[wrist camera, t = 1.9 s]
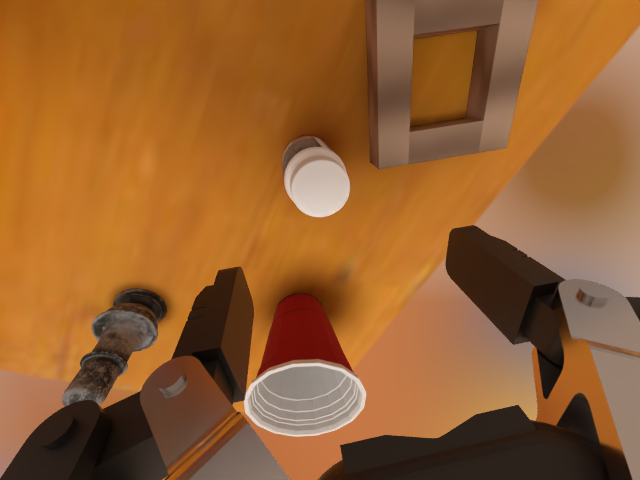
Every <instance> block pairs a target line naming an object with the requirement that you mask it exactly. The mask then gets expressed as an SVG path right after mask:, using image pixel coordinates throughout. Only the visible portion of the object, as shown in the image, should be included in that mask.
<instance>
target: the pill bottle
mask: <svg viewBox="0 0 640 480" xmlns="http://www.w3.org/2000/svg"><path fill="white" fill-rule="evenodd" d="M282 168H283V177H284V185H285V189H286V191H287V194H288V195H289V197H290V198H291V200H292V201H293V202H294V203H295V205H296V206H297V207H298V208H299V209H300V210H301V211H302V212H303V213H305V214H307V215H309V216H313V217H325V216H329V215H332V214H334V213H335V212H337V211H338V210H340V209H341V208H342V207H343V205H344V204H345V203H346V201H347V199H348V196H349V193H350V181H349V178H348V175H347V173H346V168H345V166H344V163H343V162H342V160H341V159H340V157H339V156H338V155H337V154H336V153H335V152H334V151H333V150H332V149H331V148H330V147H329V146H328V145H327V144H326V143H325V142H324V141H322V140H321V139H319V138H317V137H314V136H302V137H299V138H296V139H295V140H293V141H292V142H291V143H290V144H289V145H288V146H287V148H286V149H285V151H284V154H283V157H282Z"/></svg>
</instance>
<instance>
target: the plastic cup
mask: <svg viewBox="0 0 640 480" xmlns="http://www.w3.org/2000/svg"><path fill="white" fill-rule="evenodd" d="M365 399H366V391H365V389H364V387H363V385H362V384H361V382H360V380H359V378H358V376H357V375H356V374H355V373H354V372H353V371H352V369H351V367H350V364H349V362H348V361H347V359H346V357H345V355H344V353H343V351H342V348H341V346H340V344H339V342H338V339H337V337H336V335H335V332H334V330H333V328H332V326H331V324H330V322H329V320H328V318H327V317H326V314H325V312H324V310H323V308H322V306H321V304H320V303H319V301H318V300H317V299H316V298H314V297H313V296H311V295H307V294H294V295H291V296H289V297H286V298H285V299H284V300H282V301H281V302H280V303H279V305H278V307H277V309H276V312H275V314H274V319H273V323H272V327H271V329H270V332H269V336H268V340H267V344H266V348H265V352H264V356H263V359H262V363H261V367H260V369H259V371H258V374H257V377H256V378H255V379H254V380H253V381H252V383H251V385H250V387H249V389H248V391H247V393H246V395H245V400H244V405H245V411H246V414H247V415H248V416H249V417H250V418H251V419H252V420H253V422H255V424H256V425H258V426H260V427H262V428H264V429H266V430H268V431H271V432H273V433H276V434H283V435H289V436H295V437H296V436H314V435H320V434H323V433H327V432H330V431H334V430H337V429H339V428H341V427H342V426H344V425H346V424H348V423H349V422H351V421H353V420H354V419H355V418H356V416H357V415H358V414H359V413H360V412H361V411H362V409H363V408H364V405H365Z"/></svg>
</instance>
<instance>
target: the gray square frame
mask: <svg viewBox="0 0 640 480" xmlns="http://www.w3.org/2000/svg"><path fill="white" fill-rule="evenodd" d="M537 5H538V0H366V32H367V66H368V100H369V134H370V163H371V164H373V165H374V166H375V167H377V168H378V169H383V168H389V167H395V166H401V165H407V164H413V163H419V162H425V161H431V160H438V159H444V158H450V157H456V156H462V155H468V154H474V153H480V152H486V151H492V150H498V149H504V148H507V143H508V138H509V134H510V129H511V125H512V120H513V115H514V111H515V106H516V102H517V97H518V92H519V88H520V83H521V79H522V74H523V69H524V65H525V60H526V56H527V51H528V46H529V42H530V37H531V32H532V28H533V23H534V19H535V14H536V9H537ZM474 30H478V33H477V40H476V48H475V55H474V62H473V70H472V77H471V84H470V92H469V99H468V106H467V114H466V118H463V119H456V120H450V121H444V122H437V123H431V124H424V125H418V126H412V127H410V111H411V86H412V62H413V39H415V38H422V37H430V36H437V35H444V34H452V33H459V32H466V31H474Z"/></svg>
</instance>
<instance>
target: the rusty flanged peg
mask: <svg viewBox="0 0 640 480" xmlns="http://www.w3.org/2000/svg"><path fill="white" fill-rule="evenodd" d="M113 305H114V307H112V308H110V309H109V310H107V311H106V312H104V313H101V314H100V315H98V316H97V317H96V318H95V320H94V321H93V323H92V332H93V335H94V336H95V338H96V339H97V340H98V341H99V342H98V344H97V345H96V346H95V348H94V349H93V351H92V352H91V353H89V354H87V355H85V356H84V357H83V358H82V359H81V362H80V365H81V369H80V371H79V372H78V373H77V375H76V376H75V378H74V379H73V381H72V382H71V383H70V385H69V386H68V388H67V389H66V390H65V392H64V394H63V397H62V401H63V405H64V406H67V405H70V404H72V403H74V402H77V401H81V400H93V401H95V402H96V403H97V404H98V405H99V406H100V405H101V404H102V402H103V401H104V400H105V399H106V397H107V395H108V393H109V391H110V390H111V388H112V386H113V384H114V383H115V381H116V379H117V377H118V376H121V375H122V374H124V373H125V372H126V370H127V367H128V365H127V361H128V359H129V357H130V356H131V354H132V352H134V351H141V350H143V349H146V348H148V347H150V346H151V345H153V343H154V342H155V341H156V339H157V336H158V331H157V328H158V326H157V322H159V321H160V320H162V319H163V318H164V316H165V314H166V311H167V310H166V305H165V303H164V301H163V300H162V299H161V298H160V297H159V296H157V295H156V294H154V293H152V292H150V291H147V290H143V289H130V290H126V291H123V292H121V293H120V294H119V295H117V297H116V298H115V300H114V304H113Z"/></svg>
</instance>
